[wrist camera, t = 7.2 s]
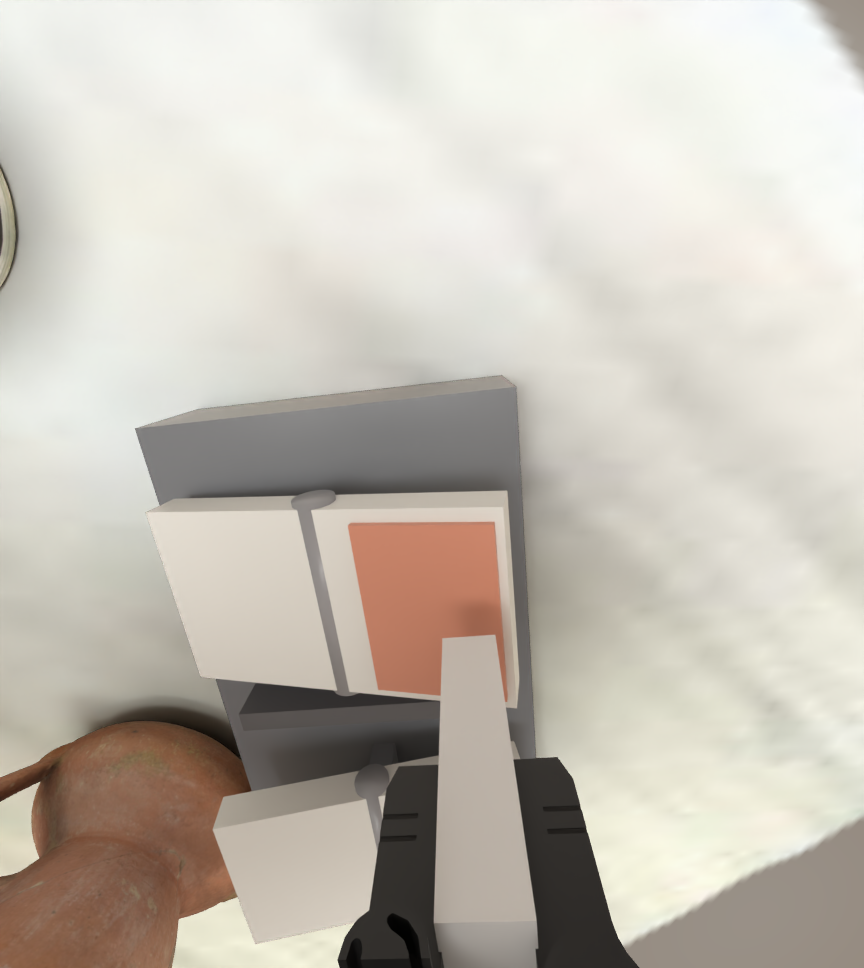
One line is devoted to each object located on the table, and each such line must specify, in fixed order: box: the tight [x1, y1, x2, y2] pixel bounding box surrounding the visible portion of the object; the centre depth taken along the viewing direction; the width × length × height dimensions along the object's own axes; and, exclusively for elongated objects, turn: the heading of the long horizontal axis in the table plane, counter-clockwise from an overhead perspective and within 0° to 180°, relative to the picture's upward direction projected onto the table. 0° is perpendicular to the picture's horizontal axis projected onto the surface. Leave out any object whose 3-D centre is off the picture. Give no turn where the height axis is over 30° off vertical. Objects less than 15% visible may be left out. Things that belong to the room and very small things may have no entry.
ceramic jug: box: [0, 721, 252, 968], centre depth 26 cm, size 18×14×14 cm
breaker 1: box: [146, 490, 519, 708], centre depth 18 cm, size 14×8×2 cm, turn 96°
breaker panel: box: [135, 375, 536, 791], centre depth 24 cm, size 16×28×7 cm, turn 6°
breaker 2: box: [213, 741, 520, 944], centre depth 22 cm, size 14×8×2 cm, turn 97°
